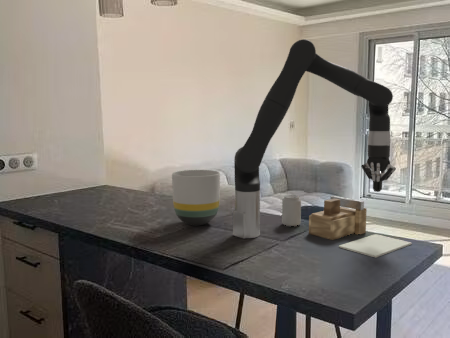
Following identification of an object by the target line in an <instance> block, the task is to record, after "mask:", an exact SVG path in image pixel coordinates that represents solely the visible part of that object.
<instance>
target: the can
mask: <svg viewBox="0 0 450 338" xmlns="http://www.w3.org/2000/svg"><path fill="white" fill-rule="evenodd" d="M281 202H282V203H281V204H282V205H281V207H282V208H281V209H282V211H281V212H282V213H281V216H282V217H281V223H282V224H283V225H284V226H285V225H286V226H285V227H291V226H294V227H298V226H299V225H300V224H302V221H301V220H302V218H301V216H302V200H301V198H300V196H299V195H296V194H287V195H284V196H283V199H282V201H281ZM297 225H298V226H297Z"/></svg>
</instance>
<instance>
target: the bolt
mask: <svg viewBox="0 0 450 338" xmlns="http://www.w3.org/2000/svg"><path fill="white" fill-rule="evenodd" d="M330 199H340V207H344V208H349V209H354V210H356V209H360V210H364V208H365V201H364V200H359V199H355V198H350V197H349V198H348V197H344V196H343V197H342V196H338V195H331V196H330Z"/></svg>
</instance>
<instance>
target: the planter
mask: <svg viewBox="0 0 450 338" xmlns="http://www.w3.org/2000/svg"><path fill="white" fill-rule="evenodd" d="M220 180H221V172H220V171H217V170H212V169H211V170H210V169H187V170H186V169H185V170H179V171H178V170H177V171H174V172H172V173H171V185H172V186H171V187H172V188H171V189H172V203H173V209H174V213H175V215H176V216H177V218H178V220H180V221H182V222H183V223H184V224H186V225H190V226H203V225H207V224H209V223H210V222H211V221H213V220H214V219H215V217H216V216H217V214H218V211H219V208H220V198H221V197H220V195H221V194H220V193H221V192H220V191H221V181H220Z"/></svg>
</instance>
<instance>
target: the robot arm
mask: <svg viewBox="0 0 450 338" xmlns="http://www.w3.org/2000/svg"><path fill="white" fill-rule="evenodd" d="M316 51H317V50H316V47H315V45H314V43H313V42H312V41H311V40H309V39H306V38H305V39H304V38H303V39H302V38H301V39H299V40H297V41H295V42H294V43H293V44H292V45H291V46H290V49H289V53H288V54H287V57H286V61H285V62H284V65H283V67H282V69H281V71H280V73H279V75H278V77H277V78H276V80H275V81H274V83H273V85H272V86H271V88H270V89H269V91H268V92H267V94H266V96H265V97H264V99H263V100H262V101H263V102H262V103H261V106H260V108H259V110H258V112H257V115H256V118H255V122H254V123H253V128H252V131H251V132H250V135H249V137H248V138H247V140H246V142H245V143H244V145H243V146H241V147H239V148H238V149H237V150H236V152H235V154H234V160H233V161H234V163H233V164H234V210H233V211H232V235H233V236H235V237H238V238H239V239H254V238H258V237H260V236H261V233H260V232H261V231H260V230H261V214H260V213H261V181H260V165H261V164H262V160H263V158H264V156H265V153H266V150H267V148H268V145H269V144H270V142H271V140H272V138H273V137H274V135H275V133H276V132H277V130H278V129H279V127H280V125H281V124H282V121H283V119H284V118H285V116H286V115H287V113H288V110H289V109H290V107H291V104H292V102H293V99H294V98H295V97H294V96H295V95H296V92H297V88H298V85H299V83H300V82H301V79H302V78H303V76H304V75H305V73H306V72H307V73H311V74H313V75H316V76H318V77H320V78H323V79H324V80H325V81H328V82H331V83H332V84H334V85H335V86H337V87H339V88H341V89H343V90H344V91H346V92H347V93H351V94H352V95H355V96H357V97H361V98H362V99H364V100H366V101H368V114H369V122H368V123H369V124H368V136H367V160H366V163H364V164H362V165H361V166H360V167H361V169H362V171H364V174H365V175H366V176H367V178H368V179H369V180H372V190H373V191H374V192H376V193H380V192H382V190H383V181H387V180H388V179H389V178H390V177H391V176H392V175H393V174H394V172H395V171H396V169H397V167H395V166H392V164H391V161H390V156H391V154H390V153H391V117H390V115H389V105H390V104H391V103H392V101H393V99H394V95H393V92H392V90H391V89H390V88H389V87H387V86H385V85H383V84H381V83H378V82H376V81H373V80H371V79H368V78H367V77H366V76H364V75H362V74H360V73H358V72H356V71H355V70H354V69H350V68H349V67H345V66H342V65H339V64H337V63H334V62H331V61H329V60H327V59H325V58H324V57H322V56H321V55H320V54H318V53H317V52H316Z"/></svg>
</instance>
